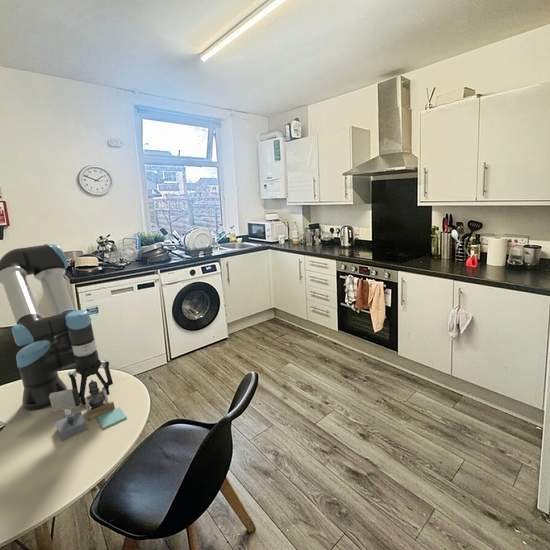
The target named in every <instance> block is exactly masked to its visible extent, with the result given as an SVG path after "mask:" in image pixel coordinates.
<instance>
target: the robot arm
mask: <svg viewBox="0 0 550 550" xmlns="http://www.w3.org/2000/svg"><path fill="white" fill-rule="evenodd" d="M67 268H68V260H67V257H66V254H65V253H64V250H63V249H62V248H61V246H59V245H58V244H56V243H51V244H42V245H41V244H40V245H35V246H27V247H20V248H15V249H14V248H13V249H11V250H9V251H7V252H6V253H4V255H3V256H2V257H1V258H0V284H1V285H3V288H4V292H5V294H6V297H7V300H8V303H9V306H10V309H11V312H12V316H13V318H14V320H15V321H14V322H15V323H16V325H13V326H12V327H11V332H12V336H13V339H14V342H15V344H16V346H18V347H22V348H21V349H20V350H19V351H18V352H17V353H16V356H15V359H16V366H17V368H18V370H19V371H18V372H19V374H20V378H21V381H22V384H23V385H22V386H23V392H22V394H23V395H22V400H21V402H22V407H23V408H24V410H27V411H38V410H42V409H46V408H49V407H52V406H51V402H50V398H49V395H50V393H54V392H59V391H64V390H68V387H67V385H66V384H65V383H64V382H63V380H62V379H61V377H60V376H59V373H58V372H59V371H62V370H64V369H67V368H69V367H72V366H75V370H73V371H69V372H68V373H67V375H68V377H69V379H70V380H71V383H70V384H71V389H74V388H77V389H78V384H77V379H76V377H77V374H79V375H80V379H81V380H80V388H79V391H78V393H79V397H80V399H81V403H82V405H85V408H86V409H85V410H86V412H88V411H90V408H91V407H90V405H89V403H88V399H87V396H88V395H87V394H86V387H87V380H88V378H89V377H90V376H94V375H95V376H97V379H98V380H99V381H100V382H101V384H102V386H101V390H102V391H103V395H104V397H105V398H104V403H105V404H107V403H109V402H110V401H109V398H108V396H109V395H110V389H109V388H110V386H112V385H113V384H114V383H113V378H112V375H111V371H110V362H109V360H108V359H104V360H100V358H99V353H98V349H97V344H96V339H95V335H94V330H93V329H94V328H93V325H92V318H91V317H90V316H91V315H90V313H89V311H87V310H84V309H79V310H77V309H75V307H74V304H73V302H72V298H71V295H70V292H69V290H68V287H67V284H66V280H65V278H64V277H65V276H64V275H65V273H66V272H67V271H66V269H67ZM31 275H33V277H34V278H35V280H37V281H39V282H40V284H41V287H42V291H43V293H44V296H45V299H46V303H47V306H48V309H49V311H50V312H49V313H50V316H47V317H42V315H41V313H40V311H39V309H38V306H37V304H36V303H37V302H36V300H35V298H34V296H33V294H32V291H31V288H30V285H29V283H28V280H27V277H28V276H31ZM50 338H54V341H53V342H50V340H47V339H50ZM23 346H24V347H23ZM101 366H102V367H103V369H104V370H103V371H104V372H105V376H106V380H107V382H106V380H105V379H104V377H103V376H102V375H101V373H100V371H99V369H100V367H101Z"/></svg>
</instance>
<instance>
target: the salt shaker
mask: <svg viewBox="0 0 550 550" xmlns="http://www.w3.org/2000/svg"><path fill="white" fill-rule="evenodd" d="M88 389H89V391H88V393H89V395H91V398H90V399H89V400H88V403H89V408H90V410H93V409H95V408H98V407H100V406H102V405H105V404H106V403H105V400H104V398H105V397H104V395H100V394H99V391H100V388H99V386H98V381H95V380H93V379H91V380H90V382H89V383H88Z"/></svg>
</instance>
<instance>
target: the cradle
mask: <svg viewBox="0 0 550 550" xmlns="http://www.w3.org/2000/svg"><path fill="white" fill-rule="evenodd" d="M99 394H100V395H103V391H102V389H101V390H100V389H99ZM86 396H87V399H88V400H89V399H90V398H91V395H90V394H88V395H86ZM80 401H81V399H80ZM108 402H109V403H107V404H106V403H105V405H102V406H100V407H98V408H95V409H93V410H90V411H86V414H87V419H88V421H91V420H93V419H94V420H95V419H97V417H98V416H100V415H103V414H105V413H107V412H110V411H112V410H114V409H116V407H115V403H114V401H113V400H112V401H108ZM80 406H81V407H82V408H83V407H86V405H82V403H81V404H80Z"/></svg>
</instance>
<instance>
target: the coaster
mask: <svg viewBox="0 0 550 550" xmlns="http://www.w3.org/2000/svg"><path fill="white" fill-rule="evenodd" d="M127 417H128V416H127V415H126V414H125V412H124V411H123V409H121V407H120V406H119V407H117V408H116V407H115V409H114V410H112V411H110V412H107V413H105V414H103V415H100V416H98V417H96V419H97V421H98V423H99V425H100V426H101V428H102V430H104V429H107V428H110V427H112V426H113V425H116V424H118V423H120V422H122V421H124V420H127V419H128V418H127Z"/></svg>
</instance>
